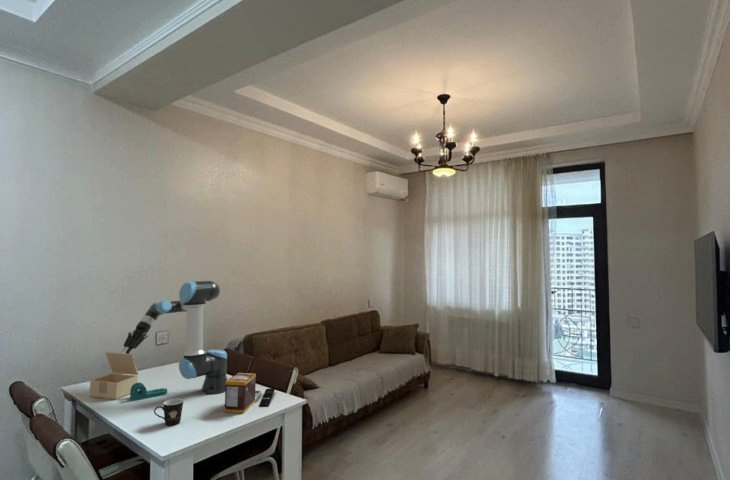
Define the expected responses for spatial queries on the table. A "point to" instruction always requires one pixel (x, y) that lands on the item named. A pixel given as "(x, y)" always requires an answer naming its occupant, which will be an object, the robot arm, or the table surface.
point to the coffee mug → (171, 411)
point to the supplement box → (240, 392)
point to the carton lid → (122, 363)
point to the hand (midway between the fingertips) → (121, 358)
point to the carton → (112, 386)
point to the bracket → (144, 392)
